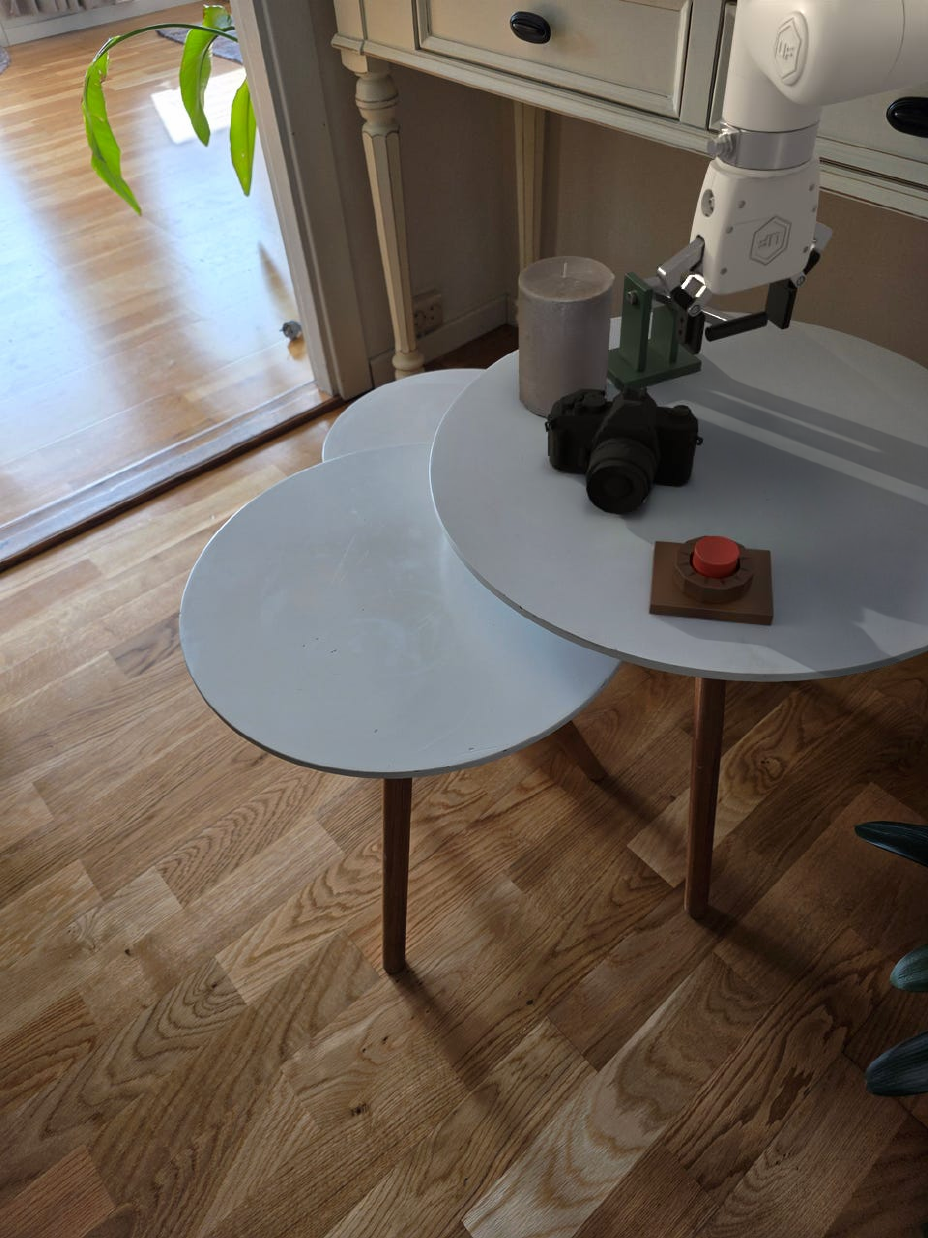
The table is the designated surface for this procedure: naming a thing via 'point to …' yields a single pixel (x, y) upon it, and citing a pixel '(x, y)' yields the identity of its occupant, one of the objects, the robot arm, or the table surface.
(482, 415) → the table surface
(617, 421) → the film camera
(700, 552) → the button
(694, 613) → the button block
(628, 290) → the bracket
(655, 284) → the lever
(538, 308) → the pillar candle
